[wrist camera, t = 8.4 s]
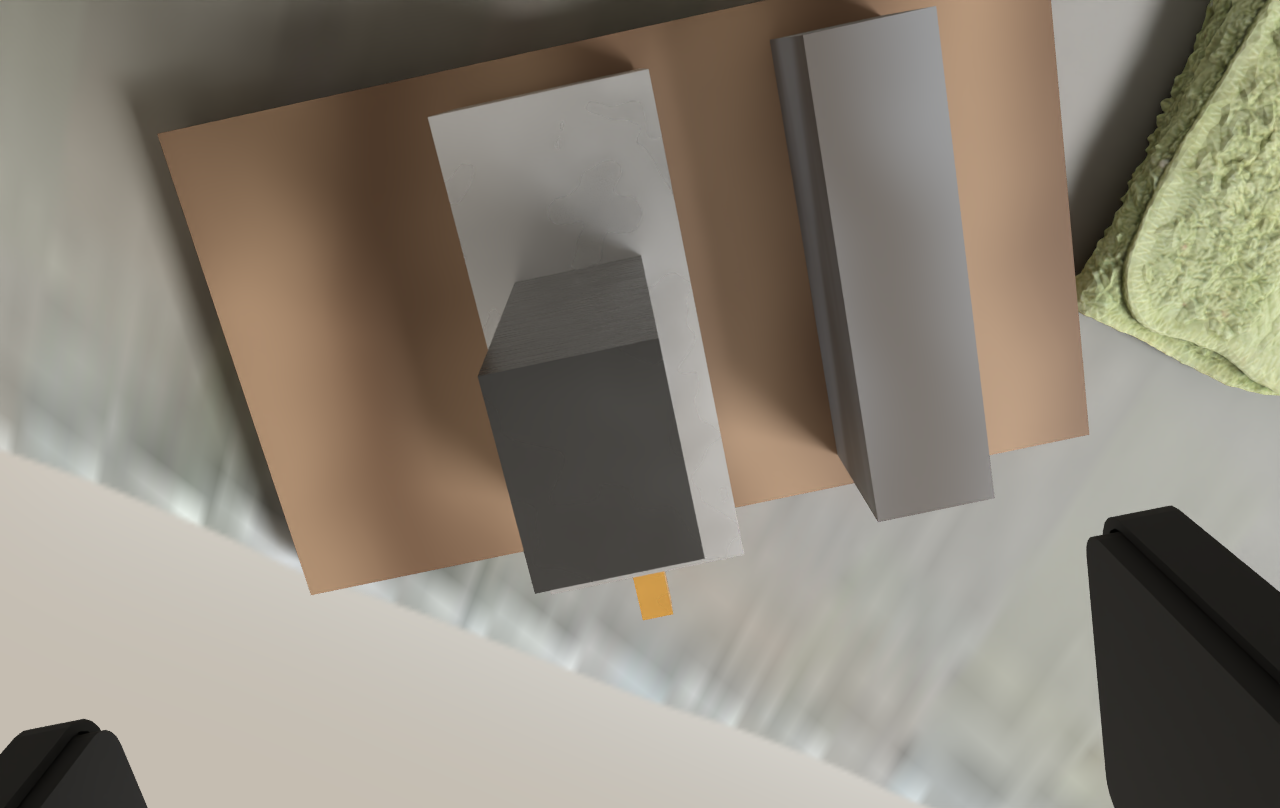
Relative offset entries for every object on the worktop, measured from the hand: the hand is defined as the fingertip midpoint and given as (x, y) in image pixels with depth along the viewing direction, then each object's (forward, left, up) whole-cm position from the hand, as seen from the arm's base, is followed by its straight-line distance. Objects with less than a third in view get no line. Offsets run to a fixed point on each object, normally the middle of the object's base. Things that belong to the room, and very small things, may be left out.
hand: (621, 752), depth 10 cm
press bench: (-1, 0, -24) cm, 24 cm away
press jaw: (0, +1, -21) cm, 21 cm away
